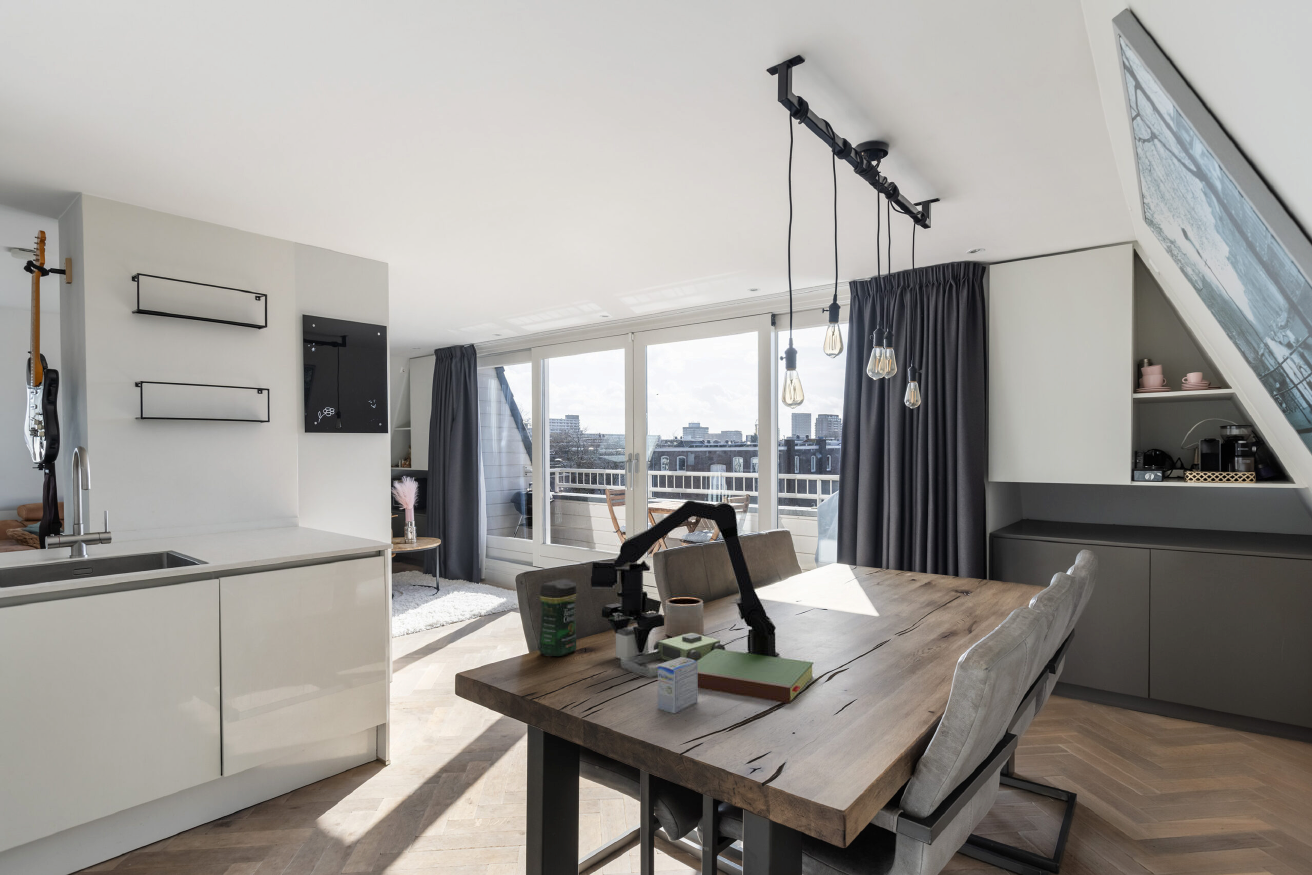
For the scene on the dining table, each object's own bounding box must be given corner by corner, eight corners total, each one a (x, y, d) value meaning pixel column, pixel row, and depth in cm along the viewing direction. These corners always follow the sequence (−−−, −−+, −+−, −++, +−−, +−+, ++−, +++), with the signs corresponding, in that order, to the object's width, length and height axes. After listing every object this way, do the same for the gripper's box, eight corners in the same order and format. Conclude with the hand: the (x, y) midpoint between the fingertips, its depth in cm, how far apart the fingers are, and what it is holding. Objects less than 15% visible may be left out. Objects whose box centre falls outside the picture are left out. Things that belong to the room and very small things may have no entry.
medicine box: (681, 697, 138) (680, 656, 139) (698, 702, 135) (698, 660, 136) (657, 709, 132) (656, 665, 132) (674, 714, 129) (674, 669, 130)
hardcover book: (682, 687, 146) (682, 670, 146) (715, 664, 162) (715, 648, 163) (793, 706, 134) (793, 688, 134) (816, 679, 151) (816, 662, 151)
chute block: (648, 655, 169) (648, 627, 169) (627, 660, 164) (627, 632, 164) (637, 651, 172) (636, 624, 172) (616, 657, 167) (615, 629, 168)
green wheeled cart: (725, 657, 166) (725, 637, 166) (690, 668, 158) (689, 647, 158) (687, 646, 176) (687, 627, 176) (652, 656, 168) (652, 636, 168)
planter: (660, 638, 184) (660, 603, 185) (671, 628, 195) (671, 595, 195) (698, 641, 181) (698, 606, 182) (707, 631, 192) (707, 597, 192)
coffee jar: (558, 659, 165) (558, 584, 166) (534, 654, 169) (534, 582, 170) (582, 649, 174) (581, 578, 174) (558, 645, 178) (558, 576, 178)
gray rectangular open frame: (686, 666, 159) (686, 658, 159) (649, 677, 151) (649, 668, 151) (657, 657, 167) (657, 649, 167) (620, 667, 159) (620, 658, 159)
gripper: (680, 588, 167) (680, 651, 166) (632, 579, 181) (633, 636, 180) (646, 595, 160) (647, 660, 159) (600, 584, 173) (600, 644, 173)
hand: (632, 649), depth 168 cm, fingers open, 6 cm apart
